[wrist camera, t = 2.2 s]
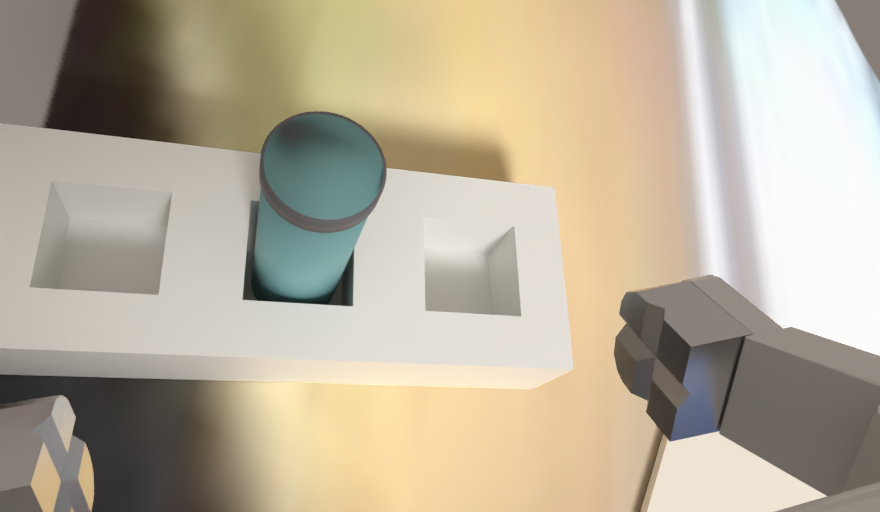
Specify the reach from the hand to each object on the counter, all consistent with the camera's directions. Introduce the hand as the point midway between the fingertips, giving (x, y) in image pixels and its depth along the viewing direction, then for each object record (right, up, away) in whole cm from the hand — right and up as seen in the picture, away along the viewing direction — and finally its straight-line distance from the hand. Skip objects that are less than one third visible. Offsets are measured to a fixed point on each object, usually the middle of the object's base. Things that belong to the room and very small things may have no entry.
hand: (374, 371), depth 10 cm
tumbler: (-6, +1, +21) cm, 22 cm away
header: (-6, 0, +22) cm, 23 cm away
